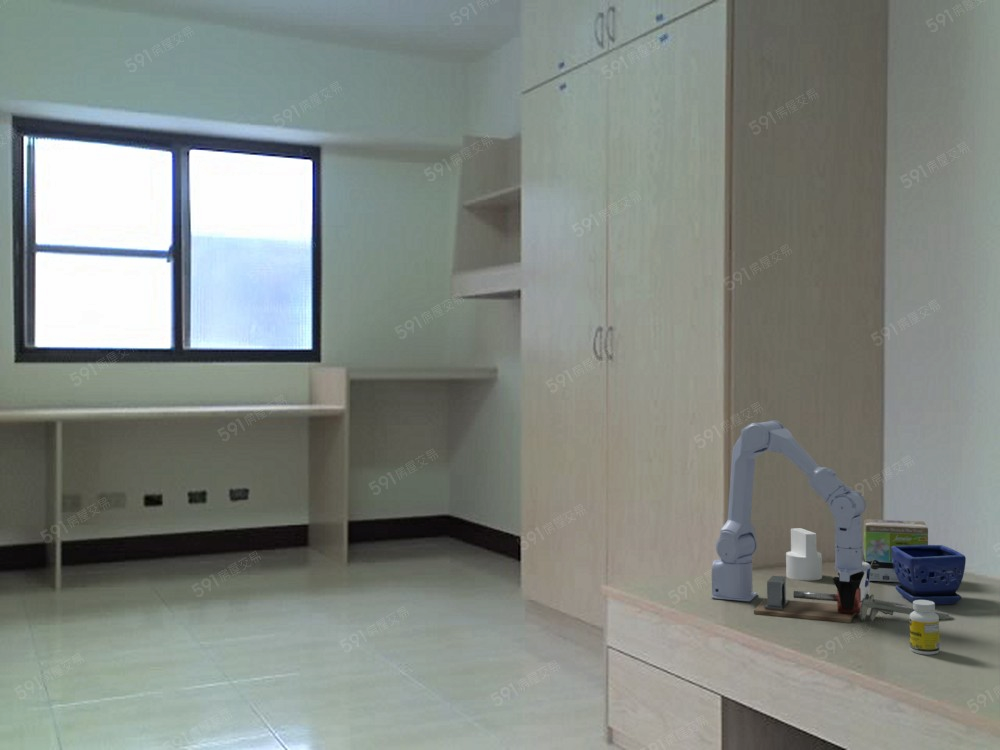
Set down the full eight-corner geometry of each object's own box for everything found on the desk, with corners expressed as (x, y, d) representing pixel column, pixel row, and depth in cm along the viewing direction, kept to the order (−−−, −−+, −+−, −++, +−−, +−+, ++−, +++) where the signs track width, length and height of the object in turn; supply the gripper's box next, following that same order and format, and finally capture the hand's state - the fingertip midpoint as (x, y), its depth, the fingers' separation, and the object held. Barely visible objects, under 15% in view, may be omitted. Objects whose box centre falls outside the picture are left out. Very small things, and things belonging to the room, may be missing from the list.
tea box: (865, 582, 261) (864, 524, 261) (863, 573, 271) (862, 518, 270) (928, 585, 257) (928, 526, 256) (924, 576, 266) (924, 519, 266)
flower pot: (969, 606, 235) (968, 555, 235) (911, 608, 235) (910, 556, 235) (943, 592, 249) (943, 544, 248) (889, 594, 248) (888, 545, 248)
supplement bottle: (904, 648, 205) (904, 599, 205) (930, 646, 205) (930, 598, 205) (918, 656, 199) (917, 606, 199) (944, 654, 200) (944, 604, 200)
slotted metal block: (764, 609, 234) (764, 582, 234) (771, 600, 241) (771, 574, 241) (782, 610, 232) (781, 583, 232) (789, 602, 239) (788, 576, 239)
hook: (792, 608, 233) (791, 584, 233) (796, 603, 237) (795, 579, 237) (859, 614, 226) (859, 589, 226) (862, 609, 231) (861, 584, 231)
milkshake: (876, 602, 241) (875, 560, 241) (852, 601, 242) (851, 559, 242) (873, 597, 245) (872, 556, 245) (849, 597, 246) (849, 555, 246)
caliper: (862, 622, 225) (862, 594, 225) (860, 621, 226) (860, 593, 226) (954, 620, 225) (954, 591, 225) (952, 619, 226) (952, 590, 226)
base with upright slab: (780, 574, 273) (779, 529, 272) (811, 571, 274) (811, 527, 274) (796, 581, 264) (795, 535, 263) (828, 579, 265) (827, 533, 265)
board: (753, 613, 233) (753, 610, 233) (764, 601, 244) (764, 598, 244) (850, 622, 224) (850, 619, 224) (857, 609, 235) (857, 606, 235)
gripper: (863, 553, 221) (864, 616, 221) (871, 541, 234) (872, 600, 234) (829, 551, 224) (830, 613, 224) (838, 539, 237) (839, 598, 237)
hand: (849, 606), depth 230 cm, fingers closed on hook, 5 cm apart
